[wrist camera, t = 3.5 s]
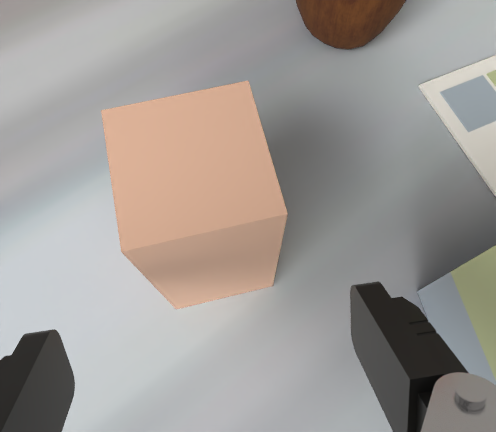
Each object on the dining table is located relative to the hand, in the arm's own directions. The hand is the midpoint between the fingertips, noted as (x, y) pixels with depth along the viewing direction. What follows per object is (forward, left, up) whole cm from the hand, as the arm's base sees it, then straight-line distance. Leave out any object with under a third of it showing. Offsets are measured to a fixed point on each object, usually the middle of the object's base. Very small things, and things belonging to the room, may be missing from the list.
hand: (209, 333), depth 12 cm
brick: (-5, 0, -10) cm, 11 cm away
